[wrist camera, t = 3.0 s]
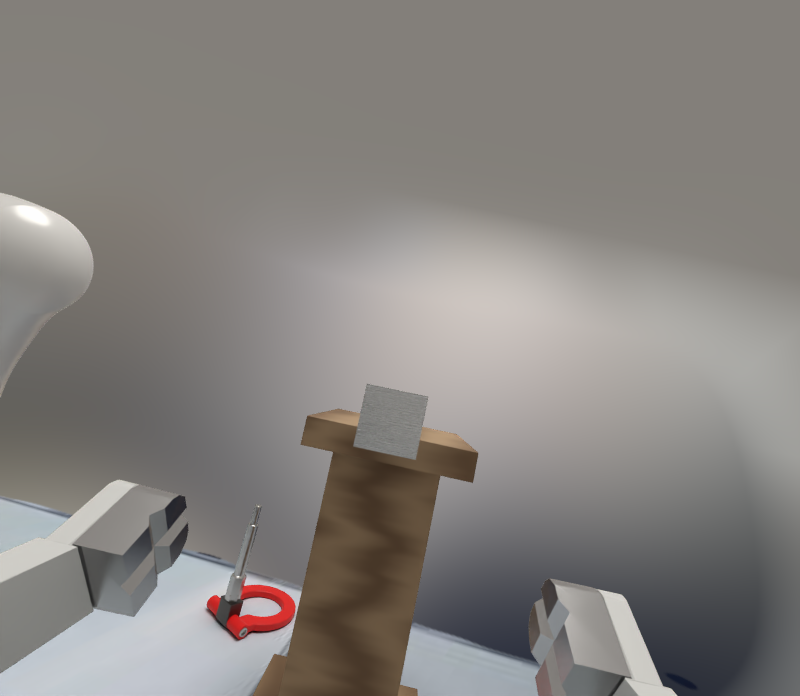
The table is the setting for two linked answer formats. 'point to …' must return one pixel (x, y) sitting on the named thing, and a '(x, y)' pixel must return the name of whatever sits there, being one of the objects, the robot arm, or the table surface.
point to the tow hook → (249, 595)
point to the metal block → (391, 421)
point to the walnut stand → (364, 563)
